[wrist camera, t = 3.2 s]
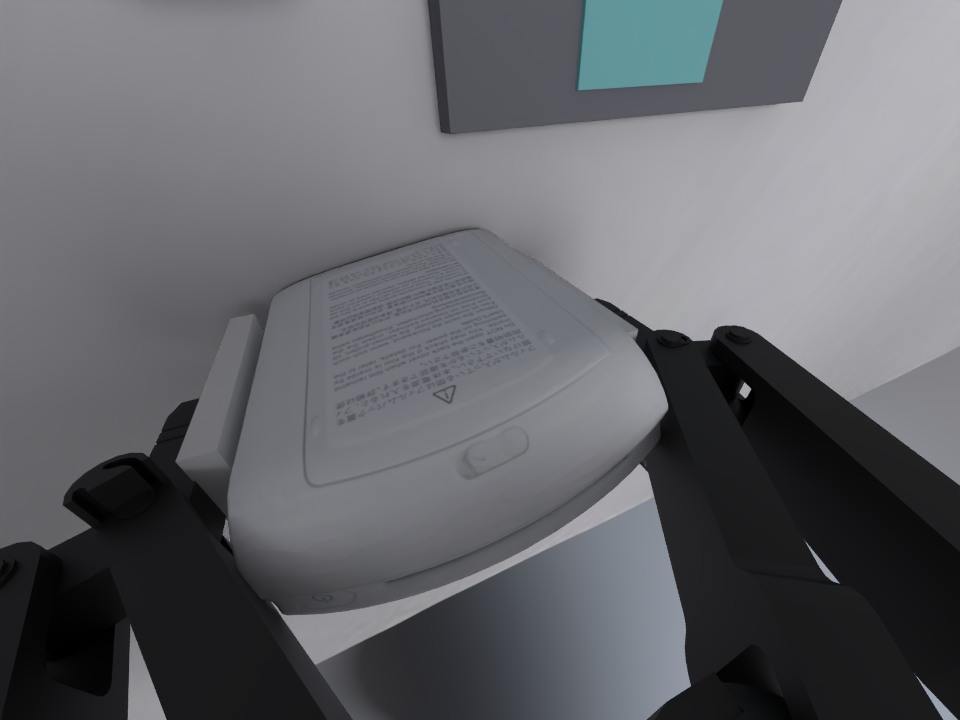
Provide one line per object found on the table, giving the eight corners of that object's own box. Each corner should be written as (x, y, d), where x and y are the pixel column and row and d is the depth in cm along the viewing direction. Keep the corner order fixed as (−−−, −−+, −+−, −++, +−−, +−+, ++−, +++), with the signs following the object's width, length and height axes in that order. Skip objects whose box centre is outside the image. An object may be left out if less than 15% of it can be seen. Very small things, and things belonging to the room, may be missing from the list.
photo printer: (305, 368, 17) (296, 704, 7) (252, 287, 14) (132, 653, 5) (503, 296, 19) (700, 491, 9) (489, 212, 16) (749, 366, 6)
